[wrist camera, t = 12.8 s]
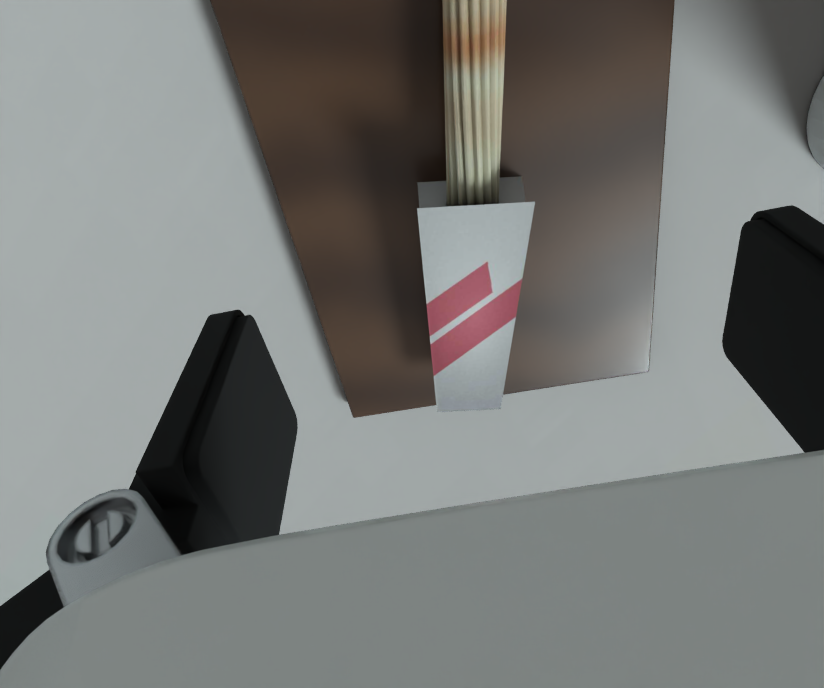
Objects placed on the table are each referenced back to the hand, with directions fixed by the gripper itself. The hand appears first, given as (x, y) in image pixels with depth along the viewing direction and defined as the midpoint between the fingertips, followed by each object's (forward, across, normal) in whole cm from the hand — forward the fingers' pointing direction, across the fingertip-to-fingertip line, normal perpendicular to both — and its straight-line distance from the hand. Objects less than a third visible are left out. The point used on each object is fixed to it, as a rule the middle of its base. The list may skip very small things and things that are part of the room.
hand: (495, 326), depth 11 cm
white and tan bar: (+11, -1, +1) cm, 11 cm away
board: (+12, -1, +1) cm, 12 cm away
